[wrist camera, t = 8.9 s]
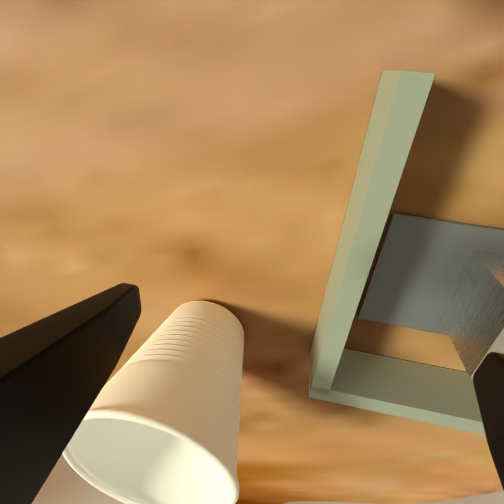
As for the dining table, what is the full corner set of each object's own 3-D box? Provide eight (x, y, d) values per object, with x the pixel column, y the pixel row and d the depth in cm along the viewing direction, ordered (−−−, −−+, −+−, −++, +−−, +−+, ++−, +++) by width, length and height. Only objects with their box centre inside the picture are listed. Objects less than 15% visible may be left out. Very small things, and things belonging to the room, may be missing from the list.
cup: (294, 337, 25) (280, 501, 15) (215, 383, 29) (166, 531, 20) (199, 253, 22) (113, 386, 13) (129, 318, 27) (29, 450, 18)
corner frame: (382, 70, 15) (401, 70, 12) (778, 108, 13) (938, 121, 10) (309, 352, 25) (308, 397, 22) (528, 396, 23) (564, 452, 20)
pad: (392, 212, 18) (393, 214, 18) (601, 242, 17) (605, 245, 17) (357, 315, 22) (358, 318, 22) (523, 345, 21) (526, 349, 21)
